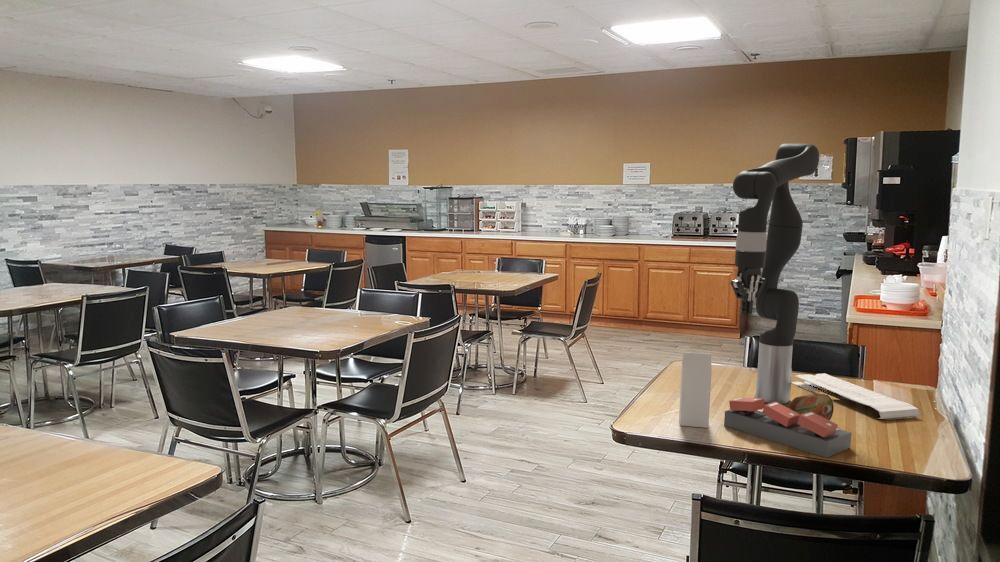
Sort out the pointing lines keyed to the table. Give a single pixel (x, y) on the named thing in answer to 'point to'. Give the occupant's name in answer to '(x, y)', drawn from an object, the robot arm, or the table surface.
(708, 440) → the table surface
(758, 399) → the block
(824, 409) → the tin
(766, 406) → the block
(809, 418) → the rocker
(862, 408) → the table surface
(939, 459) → the table surface
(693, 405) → the milk carton
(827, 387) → the white flat bar
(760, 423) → the power strip
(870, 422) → the table surface
